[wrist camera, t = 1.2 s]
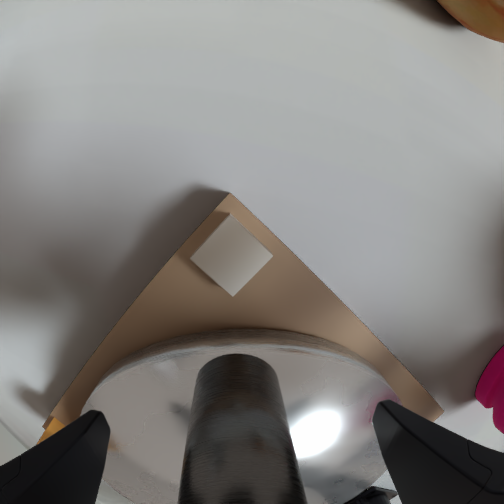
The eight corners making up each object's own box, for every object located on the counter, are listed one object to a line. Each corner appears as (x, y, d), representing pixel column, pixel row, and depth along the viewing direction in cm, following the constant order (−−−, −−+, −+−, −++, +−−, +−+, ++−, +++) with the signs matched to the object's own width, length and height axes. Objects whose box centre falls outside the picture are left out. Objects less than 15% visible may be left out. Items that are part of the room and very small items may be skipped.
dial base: (434, 399, 15) (461, 431, 11) (248, 515, 17) (251, 546, 14) (230, 192, 11) (228, 193, 7) (50, 414, 14) (28, 448, 10)
